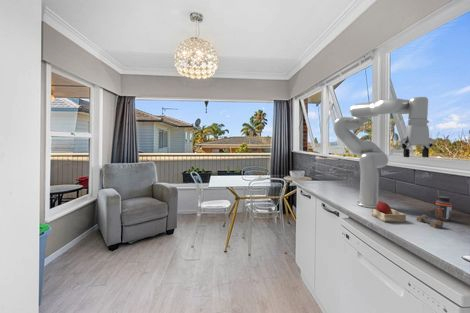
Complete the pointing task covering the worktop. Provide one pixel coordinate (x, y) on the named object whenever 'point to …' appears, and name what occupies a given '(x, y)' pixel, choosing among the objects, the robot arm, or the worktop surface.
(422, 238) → the worktop surface
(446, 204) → the supplement bottle
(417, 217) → the clip
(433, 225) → the clip
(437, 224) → the gray square bar
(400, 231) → the worktop surface
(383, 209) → the onion
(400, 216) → the wooden tray
